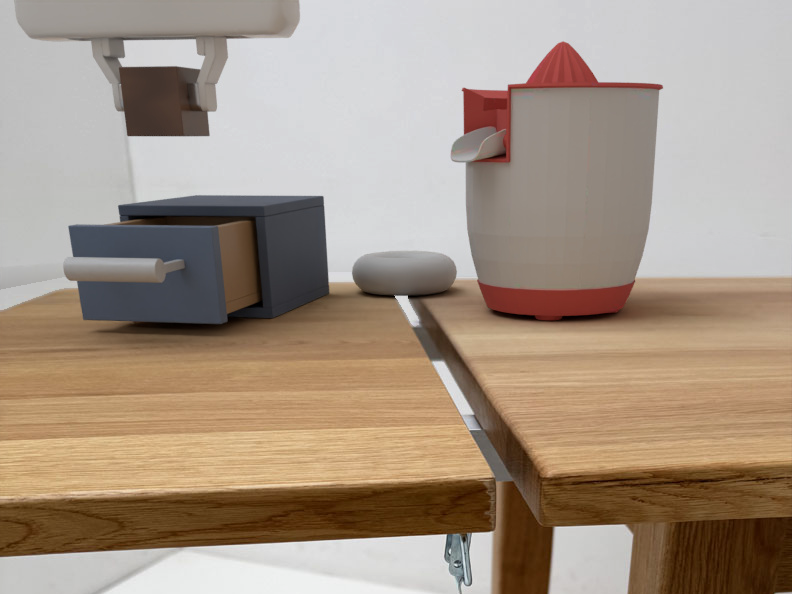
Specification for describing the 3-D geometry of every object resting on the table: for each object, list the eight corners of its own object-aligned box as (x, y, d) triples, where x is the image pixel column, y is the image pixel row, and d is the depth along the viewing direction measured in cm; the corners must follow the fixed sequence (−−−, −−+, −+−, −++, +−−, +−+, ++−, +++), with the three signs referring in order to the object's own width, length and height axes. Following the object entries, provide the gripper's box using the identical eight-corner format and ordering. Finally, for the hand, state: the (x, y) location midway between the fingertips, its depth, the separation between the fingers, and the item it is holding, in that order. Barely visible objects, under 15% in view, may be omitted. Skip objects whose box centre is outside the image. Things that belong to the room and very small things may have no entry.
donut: (371, 284, 104) (337, 296, 95) (370, 248, 102) (336, 257, 93) (467, 287, 101) (442, 299, 93) (467, 250, 100) (441, 259, 91)
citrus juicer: (411, 309, 88) (403, 44, 80) (568, 292, 97) (577, 51, 88) (518, 335, 76) (523, 27, 68) (687, 313, 85) (710, 37, 76)
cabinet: (272, 318, 84) (263, 206, 80) (132, 314, 86) (117, 204, 83) (329, 293, 97) (323, 195, 93) (206, 290, 99) (195, 195, 96)
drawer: (192, 336, 72) (180, 233, 69) (45, 331, 74) (28, 231, 71) (286, 298, 88) (279, 213, 85) (164, 295, 90) (153, 212, 87)
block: (126, 136, 73) (118, 66, 71) (155, 136, 77) (148, 70, 75) (183, 136, 72) (176, 66, 71) (210, 136, 76) (203, 69, 74)
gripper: (-26, -123, 67) (13, 111, 73) (266, -138, 64) (282, 110, 69) (30, -103, 73) (61, 112, 79) (301, -116, 69) (313, 112, 75)
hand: (167, 111), depth 74 cm, fingers closed on block, 4 cm apart
